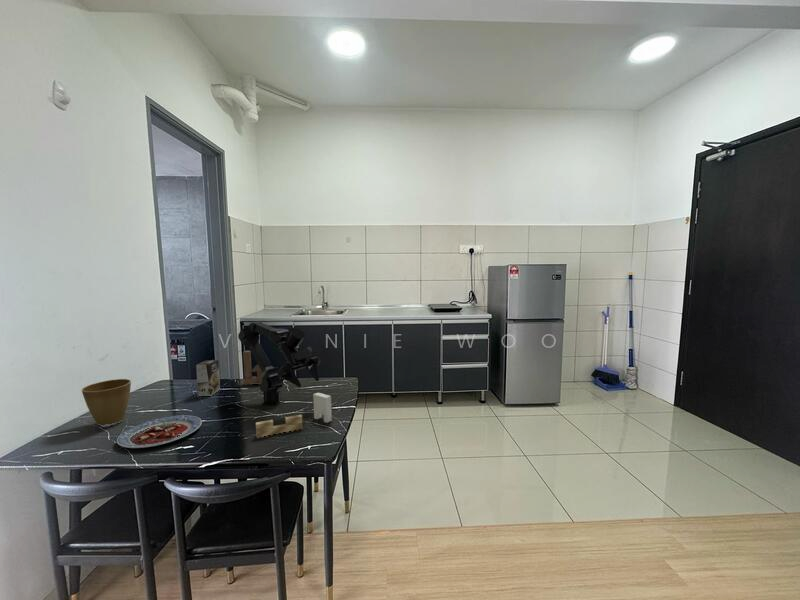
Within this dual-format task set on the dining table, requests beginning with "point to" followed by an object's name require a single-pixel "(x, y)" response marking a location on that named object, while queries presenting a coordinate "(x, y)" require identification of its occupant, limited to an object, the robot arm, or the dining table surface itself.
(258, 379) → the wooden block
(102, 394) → the plant pot
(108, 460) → the dining table surface
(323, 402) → the grey tapered block
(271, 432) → the notched base plate
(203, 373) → the coffee box
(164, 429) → the ceramic plate
